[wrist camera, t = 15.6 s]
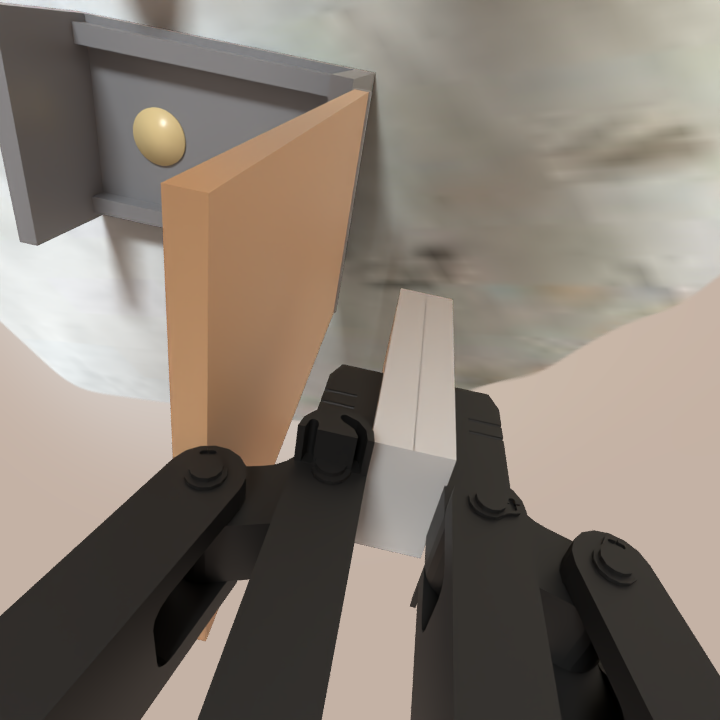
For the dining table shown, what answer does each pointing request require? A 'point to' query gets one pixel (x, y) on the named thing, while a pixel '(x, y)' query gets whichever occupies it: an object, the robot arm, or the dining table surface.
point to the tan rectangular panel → (257, 277)
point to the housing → (132, 111)
